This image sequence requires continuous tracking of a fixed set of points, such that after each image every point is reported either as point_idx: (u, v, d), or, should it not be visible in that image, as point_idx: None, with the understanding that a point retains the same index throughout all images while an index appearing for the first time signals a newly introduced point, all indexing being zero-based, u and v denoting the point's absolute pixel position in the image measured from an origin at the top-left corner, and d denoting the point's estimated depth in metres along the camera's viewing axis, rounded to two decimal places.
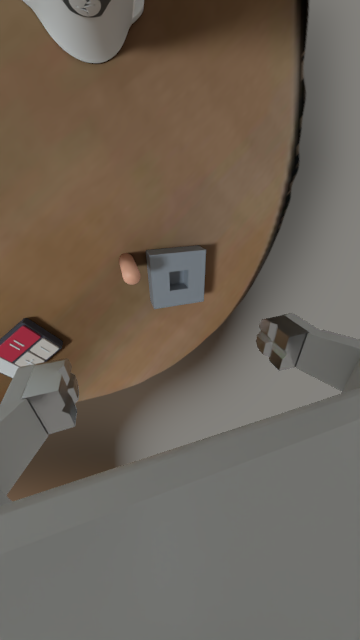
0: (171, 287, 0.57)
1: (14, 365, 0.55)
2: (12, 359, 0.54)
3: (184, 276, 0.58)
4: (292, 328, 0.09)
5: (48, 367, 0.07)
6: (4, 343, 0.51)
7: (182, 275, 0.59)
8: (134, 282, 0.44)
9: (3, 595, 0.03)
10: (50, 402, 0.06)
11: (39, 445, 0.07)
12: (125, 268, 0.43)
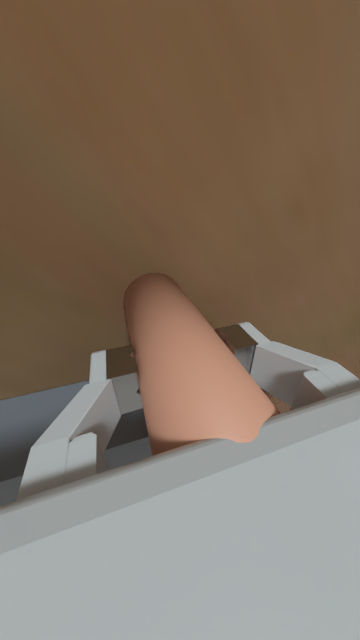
0: None
1: None
2: None
3: None
4: (241, 339, 0.08)
5: (120, 352, 0.08)
6: None
7: None
8: None
9: (3, 595, 0.03)
10: (128, 383, 0.07)
11: (116, 424, 0.07)
12: None
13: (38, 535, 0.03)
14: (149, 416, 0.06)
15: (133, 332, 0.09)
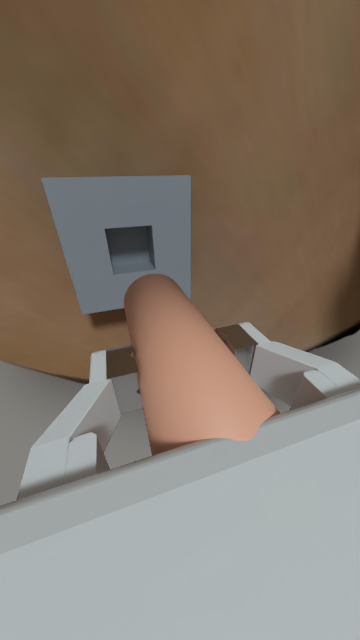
0: None
1: None
2: None
3: (129, 264, 0.28)
4: (241, 339, 0.08)
5: (120, 352, 0.08)
6: None
7: (128, 261, 0.29)
8: None
9: (3, 595, 0.03)
10: (128, 383, 0.07)
11: (116, 423, 0.07)
12: None
13: (38, 535, 0.03)
14: (149, 417, 0.06)
15: (133, 332, 0.09)
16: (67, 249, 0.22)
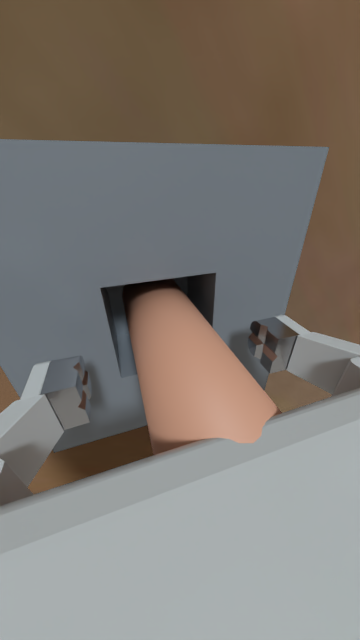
0: (104, 290, 0.11)
1: None
2: None
3: None
4: (282, 330, 0.09)
5: (63, 364, 0.07)
6: None
7: None
8: None
9: (3, 595, 0.03)
10: (67, 398, 0.06)
11: (56, 440, 0.07)
12: None
13: (38, 535, 0.03)
14: (144, 388, 0.07)
15: (131, 321, 0.10)
16: (1, 343, 0.08)
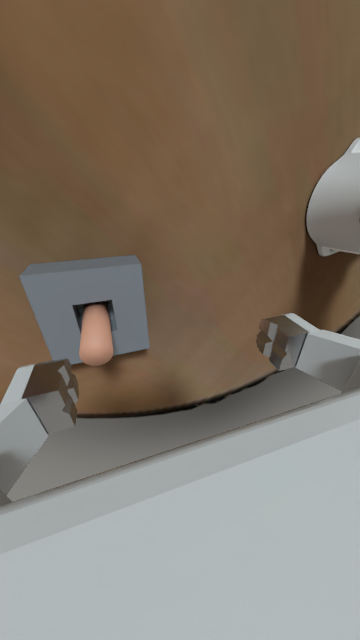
0: (75, 305, 0.30)
1: None
2: None
3: None
4: (292, 328, 0.09)
5: (48, 367, 0.07)
6: None
7: None
8: (84, 358, 0.23)
9: (3, 595, 0.03)
10: (50, 402, 0.06)
11: (39, 445, 0.07)
12: (108, 338, 0.24)
13: (38, 535, 0.03)
14: (81, 331, 0.26)
15: (83, 315, 0.29)
16: (41, 322, 0.28)
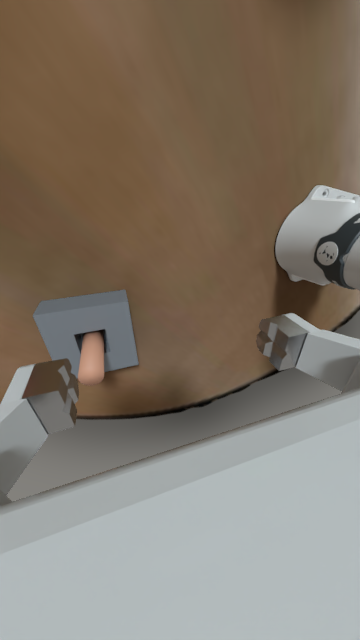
0: None
1: None
2: None
3: None
4: (292, 328, 0.09)
5: (48, 367, 0.07)
6: None
7: None
8: (81, 380, 0.31)
9: (3, 595, 0.03)
10: (50, 402, 0.06)
11: (39, 445, 0.07)
12: (100, 364, 0.32)
13: (38, 535, 0.03)
14: (80, 357, 0.34)
15: None
16: (50, 347, 0.35)
